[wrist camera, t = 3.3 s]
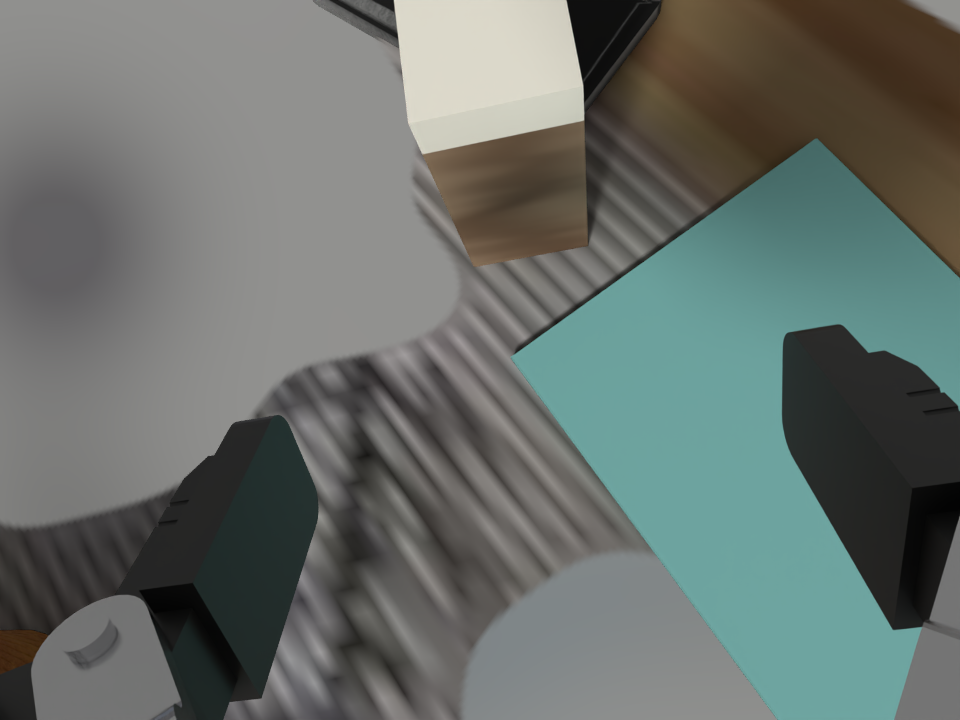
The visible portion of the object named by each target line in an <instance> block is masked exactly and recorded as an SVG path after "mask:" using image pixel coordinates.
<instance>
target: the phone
mask: <svg viewBox="0 0 960 720" xmlns="http://www.w3.org/2000/svg"><path fill="white" fill-rule="evenodd" d="M566 1H567V6H568V11H569V16H570V21H571V26H572V31H573V36H574V41H575V47H576V52H577V57H578V62H579V67H580V72H581V77H582V82H583V92H584V114H585V113H586V111H587V110H588V109H589V107H590V106H591V105H592V103H593V102H594V101H595V99H596V98H597V97H598V95H599V94H600V93H601V91H602V90H603V89H604V87H605V86H606V85H607V84H608V82H609V81H610V80H611V78H612V77H613V76H614V74H615V73H616V72H617V70H618V69H619V68H620V66H621V65H622V64H623V62H624V61H625V60H626V59H627V57H628V56H629V55H630V53H631V52H632V51H633V49H634V48H635V47H636V45H637V44H638V43H639V41H640V40H641V39H642V37H643V36H644V35H645V34H646V32H647V31H648V30H649V28H650V27H651V26H652V24H653V23H654V22H655V20H656V19H657V17H658V15H659V13H660V7H661V0H566ZM313 2H314V3H315V4H317V5H318V6H319V7H321V8H323V9H324V10H326V11H328V12H330V13H332V14H333V15H335V16H337V17H339V18H340V19H342V20H344V21H345V22H347V23H349V24H351V25H352V26H354V27H356V28H358V29H359V30H361V31H363V32H364V33H366V34H368V35H370V36H371V37H373V38H375V39H377V40H378V38H377V36H378V37H380V38H382V39H384V40H385V41H387V42H389V43H391V44H392V45H394V46H396V47H398V48H399V40H398V31H397V23H396V14H395V6H394V0H313ZM378 41H379V40H378ZM399 49H400V48H399Z"/></svg>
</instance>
